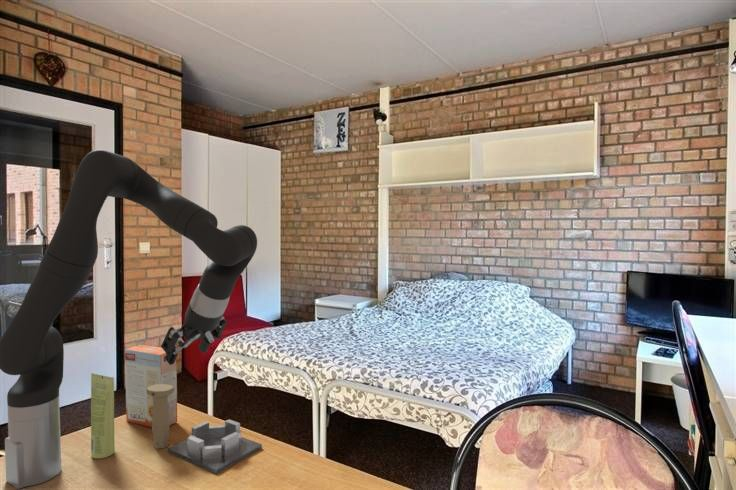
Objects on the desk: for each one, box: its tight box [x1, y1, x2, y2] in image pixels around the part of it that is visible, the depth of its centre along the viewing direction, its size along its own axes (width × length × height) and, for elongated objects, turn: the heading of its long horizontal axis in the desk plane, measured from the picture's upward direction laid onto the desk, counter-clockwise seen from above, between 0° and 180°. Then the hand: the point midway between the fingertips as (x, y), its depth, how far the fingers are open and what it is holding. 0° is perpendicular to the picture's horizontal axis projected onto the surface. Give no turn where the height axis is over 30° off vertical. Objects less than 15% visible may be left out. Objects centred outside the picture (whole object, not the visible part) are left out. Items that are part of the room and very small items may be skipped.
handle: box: [147, 384, 174, 450], centre depth 115 cm, size 5×6×15 cm
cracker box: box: [124, 344, 178, 428], centre depth 128 cm, size 14×6×21 cm, turn 65°
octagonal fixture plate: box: [166, 419, 263, 475], centre depth 113 cm, size 14×18×5 cm
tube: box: [90, 372, 116, 459], centre depth 110 cm, size 6×5×20 cm
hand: (186, 356), depth 107 cm, fingers open, 8 cm apart
